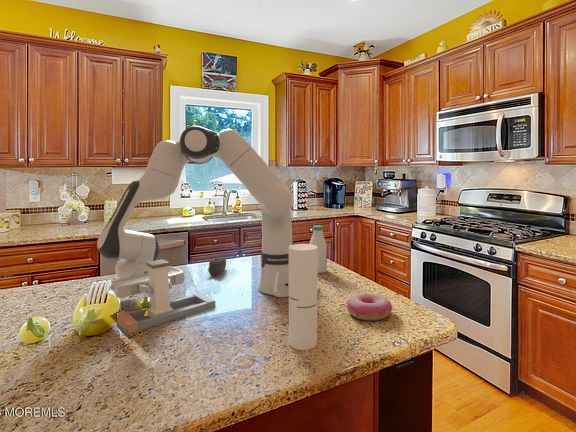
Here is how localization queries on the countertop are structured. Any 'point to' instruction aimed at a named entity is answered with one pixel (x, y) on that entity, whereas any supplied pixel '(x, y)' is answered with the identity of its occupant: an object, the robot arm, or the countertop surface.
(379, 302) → the donut
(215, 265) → the perforated stone tool
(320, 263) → the milk bottle
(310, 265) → the cylindrical container
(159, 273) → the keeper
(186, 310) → the rail
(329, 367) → the countertop surface
